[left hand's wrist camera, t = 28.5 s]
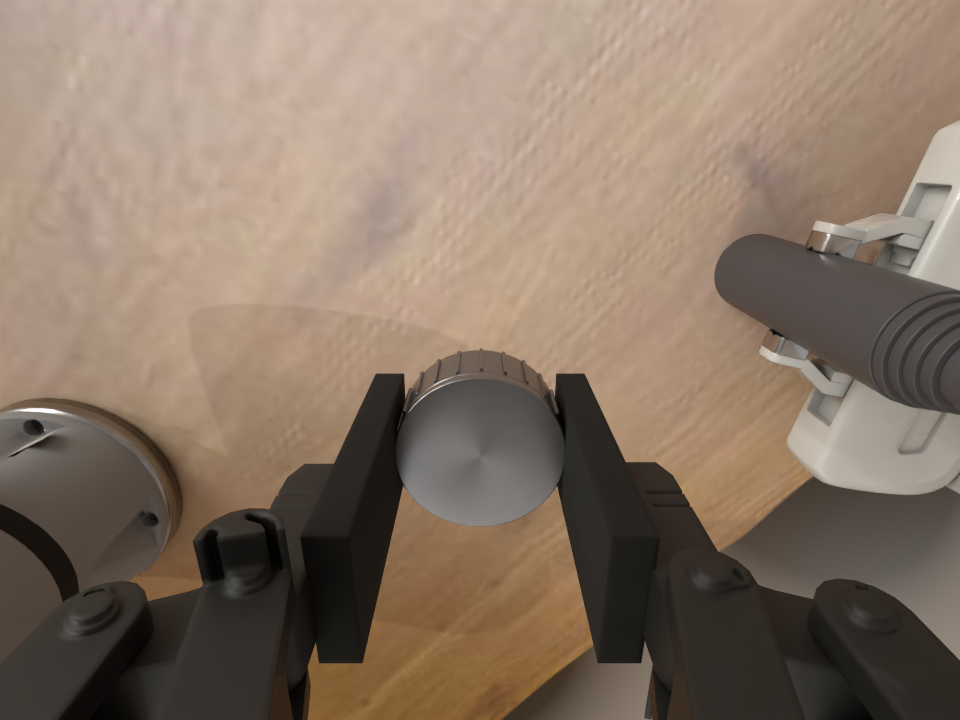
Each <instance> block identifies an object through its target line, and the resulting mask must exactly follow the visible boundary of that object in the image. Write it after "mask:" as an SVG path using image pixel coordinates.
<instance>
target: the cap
mask: <svg viewBox="0 0 960 720" xmlns="http://www.w3.org/2000/svg"><path fill="white" fill-rule="evenodd" d="M558 415H560V413H559V410H558V407H557V403H556V400H555V397H554V393H553V391H552V389H551V390H549V388H548V386H547V384H546V383H545V382H544V380H543V378H542V375H541V373H539V374H538V373H537V372H536V371H534V370H533V369H532V368H531V367H530V366H528V365H527V364H526V362H525V361H524V360H522V361H520V360H518V359H517V358H514V357H512V356H509V355H507V354H505V352H502V353H499V352H494V351H485V350H483V349H480V350H475V351H467V352H462V353H461V351H458V352H457V354H454V355H452V356H449V357H446V358H444V359H442V360H440V359H438V360H437V363H435V364H434V365H433V366H431V367H430V368H428V369H427V370H426V371H425V372H423V371H422V372H421V373H420V377H419V379H418V380H417V381H416V382H415V384H414V386H413V387H412V388H409V390H408V393H407V397H406V400H405V403H404V407H403V410H402V416H401V419H400V422H399V426H398V429H397V436H396V440H395V452H396V466H397V471H398V474H399V477H400V479H401V481H402V483H403V485H404V487H405V488H406V490H407V491H408V493H409V494H410V495H411V497H412V498H413V499H414V500H415V501H416V502H417V503H418V504H420V505H421V506H422V507H423V508H424V509H426V510H427V511H429V512H430V513H432V514H434V515H435V516H438V517H440V518H442V519H444V520H447V521H450V522H453V523H456V524H461V525H467V526H494V525H500V524H504V523H508V522H511V521H514V520H517V519H519V518H521V517H523V516H525V515H527V514H529V513H530V512H532V511H534V510H535V509H536V508H537V507H539V506H540V505H541V504H542V503H543V502H544V501H545V500H546V499H547V498H548V497H549V496H550V495H551V494H552V492H553V491H554V490H555V488H556V486H557V484H558V483H559V481H560V479H561V476H562V473H563V470H564V458H565V437H564V433H563V429H562V426H561V422H560V419H559V416H558Z"/></svg>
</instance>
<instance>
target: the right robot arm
mask: <svg viewBox="0 0 960 720" xmlns="http://www.w3.org/2000/svg"><path fill="white" fill-rule="evenodd" d="M815 230H816V231H815ZM875 240H877V241H881V242H882V244H881V247H880V249H879V251H878V253H877V255H876V257H875V259H874V261H873V263H872V265H874V266H877V267H880V268H884V269H887V270H891V271H894V272H898V273H901V274H905V275H908V276H912V277H915V278H919V279H922V280H926V281H929V282H933V283H936V284H940V285H943V286H947V287H950V288H954V289H957V290H960V120H959V121H957V122H954V123H952V124H950V125H948V126H946V127H944V128H942V129H940V130H939V131H938V132H937V133H936V134H935V136H934V137H933V139H932V141H931V143H930V145H929V147H928V149H927V151H926V153H925V156H924V158H923V160H922V162H921V164H920V166H919V168H918V170H917V172H916V174H915V176H914V178H913V180H912V182H911V185H910V187H909V189H908V191H907V193H906V195H905V197H904V199H903V201H902V203H901V205H900V207H899V209H898V211H897V213H896V215H893V214H886V213H878V214H875V215H872V216H869V217H866V218H863V219H860V220H857V221H854V222H851V223H848V224H845V226H842V225H837V224H832V223H827V222H822V221H817V220H816V222H815V225H814V227H813V229H812V232H811V234H810V236H809V239H808V241H807V243H806V246H805V248H808V249H812V250H815V251H818V252H822V253H826V254H835V255H839V256H842V257H846V258H849V259H853V258H854V256H855V254H856V252H857V250H858V248H859V246H860V244H864V243H868V242H872V241H875ZM759 354H761V355H762V356H763V357H765V358H766V359H768V360H769V361H772V362H774V363H777V364H781V365H786V366H791V367H792V368H793V370H794V371H795V372H796V373H797V374H798V375H799V376H800V377H801V378H802V379H803V380H805V381H806V382H808V383H809V384H811V385H812V386H813V387H812V389H811V391H810V393H809V395H808V397H807V399H806V401H805V403H804V405H803V408H802V410H801V412H800V414H799V416H798V418H797V420H796V422H795V424H794V426H793V428H792V430H791V432H790V434H789V436H788V439H787V446H788V447H789V449H790V451H791V452H792V454H793V455H794V457H795V458H796V459H797V461H798V462H799V463H800V464H801V465H802V466H803V467H804V468H805V469H806V470H807V471H808V472H810V473H811V474H812V475H813V476H814V477H816V478H817V479H819V480H820V481H822V482H824V483H827V484H829V485H833V486H837V487H842V488H848V489H854V490H860V491H868V492H877V493H886V494H899V495H917V494H924V493H929V492H932V491H935V490H938V489H940V488H942V487H944V486H946V487H948V488H950V489H952V490H953V491H955V492H957V493H959V494H960V415H956V414H951V413H943V412H938V411H933V410H925V409H920V408H912V407H908V406H905V405H903V404H901V403H897V402H894V401H892V400H889V399H888V398H886V397H884V396H882V395H881V394H879V393H877V392H876V391H874V390H872V389H871V388H869V387H867V386H866V385H864V384H862V383H861V382H859V381H857V380H856V379H854V378H852V377H851V376H849V375H847V374H846V373H844V372H842V371H841V370H839V369H837V368H836V367H834V366H832V365H831V364H829V363H827V362H826V361H824V360H821V359H816V358H814V359H812V360H811V362H810V361H809V360H808V359H807V357H808V354H809V351H808V350H806V349H804V348H803V347H801V346H799V345H798V344H796V343H794V342H793V341H791V340H789V339H788V338H786V337H784V336H783V335H781V334H779V333H778V332H776V331H774V330H773V329H769V331H768V333H767V335H766V337H765V339H764V342H763V344H762V346H761V349H760V351H759Z"/></svg>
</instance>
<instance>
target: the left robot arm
mask: <svg viewBox="0 0 960 720" xmlns="http://www.w3.org/2000/svg"><path fill="white" fill-rule="evenodd" d="M555 400H556V403H557V407H558V410H559V413H560V415H558V416H559V419H560V422H561V426H562V429H563V433H564V437H565V458H564V470H563V473H562V476H561V479H560V481H559V483H558V484H557V487H558V491H559V496H560V500H561V504H562V509H563V513H564V517H565V522H566V526H567V531H568V535H569V539H570V544H571V548H572V552H573V557H574V561H575V565H576V570H577V574H578V579H579V583H580V587H581V592H582V596H583V600H584V605H585V609H586V613H587V618H588V622H589V627H590V631H591V635H592V640H593V644H594V648H595V653H596V657H597V661H598V663H641V661H642V654H643V648H644V641H645V642H646V645H647V648H648V651H649V654H650V657H651V660H652V663H653V667H652V673H651V679H650V685H649V691H648V697H647V703H646V710H645V717H644V718H646V719H651V717H652V720H960V660H959V659H958V658H957V657H956V656H955V655H954V654H953V653H952V652H951V651H950V650H949V649H948V648H947V647H946V646H945V645H944V644H943V643H942V642H941V641H940V640H939V639H938V638H937V637H936V636H935V635H934V634H933V633H932V631H931V630H930V629H929V628H928V627H927V626H926V625H925V624H924V623H923V622H922V621H921V620H920V619H919V618H918V617H917V616H916V615H915V614H914V613H913V612H912V611H911V610H910V609H908V608H907V607H906V606H905V605H904V604H902V603H901V602H900V601H899V600H897V599H896V598H895V597H893V596H891V595H889V594H887V593H886V592H884V591H882V590H880V589H878V588H876V587H873V586H870V585H867V584H865V583H862V582H859V581H855V580H846V579H833V580H829V581H824V582H823V583H822V584H821V585H820V586H819V587H818V588H817V589H816V592H815V595H814V599H809V598H805V597H801V596H796V595H792V594H788V593H784V592H780V591H775V590H772V589H769V588H766V587H763V586H760V585H758V584H757V582H756V581H755V579H754V578H753V576H752V574H751V573H750V571H749V570H748V569H746V568H745V567H744V566H743V565H742V564H740V563H739V562H738V561H737V560H735V559H733V558H731V557H729V556H727V555H725V554H723V553H721V552H718V551H717V549H716V548H715V546H714V544H713V543H712V541H711V539H710V537H709V536H708V534H707V532H706V531H705V529H704V527H703V526H702V524H701V522H700V521H699V519H698V517H697V516H696V514H695V512H694V510H693V509H692V507H690V504H689V502H688V500H687V499H686V497H685V495H684V494H682V490H681V488H680V487H679V485H678V483H677V482H676V480H675V478H674V477H673V475H671V474H670V473H669V472H668V471H666V470H665V469H664V468H662V467H661V466H660V465H658V464H657V463H656V462H625V460H624V458H623V456H622V453H621V451H620V449H619V447H618V445H617V443H616V441H615V438H614V436H613V434H612V432H611V430H610V428H609V426H608V423H607V421H606V419H605V417H604V415H603V413H602V411H601V408H600V406H599V404H598V402H597V400H596V398H595V395H594V393H593V391H592V389H591V387H590V385H589V383H588V380H587V378H586V376H585V374H556V389H555ZM404 403H405V383H404V374H376V375H375V377H374V379H373V381H372V383H371V385H370V388H369V390H368V392H367V394H366V396H365V398H364V401H363V403H362V405H361V407H360V409H359V411H358V413H357V416H356V418H355V420H354V422H353V424H352V426H351V428H350V431H349V433H348V435H347V437H346V439H345V441H344V444H343V446H342V448H341V450H340V452H339V454H338V456H337V459H336V461H335V463H334V464H304V465H303V466H302V467H300V468H299V469H298V470H296V471H295V472H294V473H293V474H291V475H290V476H289V477H288V478H287V479H286V481H285V483H284V484H283V486H282V488H281V490H280V491H279V495H278V496H276V498H275V500H274V501H273V503H272V505H271V509H269V510H267V509H244V510H239V511H235V512H231V513H228V514H226V515H224V516H222V517H219V518H217V519H215V520H213V521H212V522H211V523H209V524H208V525H207V526H205V527H204V528H203V529H201V530H200V532H199V533H198V535H197V536H196V537H195V539H194V540H193V544H194V548H195V552H196V556H197V561H198V565H199V569H200V573H201V577H202V581H203V586H202V587H201V588H198V589H195V590H192V591H189V592H185V593H181V594H177V595H173V596H169V597H164V598H160V599H156V600H152V601H148V600H147V597H146V594H145V591H144V590H143V589H142V588H141V587H140V586H139V585H138V584H137V583H132V582H128V581H130V580H131V579H133V578H134V577H136V576H138V575H139V574H141V573H142V572H144V571H145V570H146V569H148V568H149V567H150V566H151V565H152V564H153V563H154V562H155V560H156V559H157V558H158V557H159V555H160V554H161V553H162V552H163V550H164V549H165V548H166V547H167V545H168V544H169V543H170V541H171V540H172V538H173V537H174V535H175V533H176V531H177V528H178V525H179V522H180V517H181V497H180V491H179V488H178V484H177V481H176V479H175V476H174V474H173V472H172V470H171V468H170V466H169V465H168V463H167V462H166V460H165V459H164V457H163V456H162V455H161V453H160V452H159V451H158V449H157V448H156V447H155V446H154V445H153V444H152V443H151V442H150V441H149V440H148V439H147V438H146V437H145V436H144V435H143V434H141V433H140V432H139V431H137V430H136V429H135V428H134V427H132V426H131V425H129V424H128V423H126V422H125V421H123V420H121V419H120V418H118V417H116V416H114V415H112V414H110V413H108V412H106V411H104V410H101V409H99V408H96V407H93V406H90V405H87V404H84V403H80V402H75V401H71V400H64V399H52V398H43V399H32V400H25V401H21V402H17V403H14V404H11V405H9V406H7V407H4V408H2V409H0V720H308V710H309V699H310V688H311V686H310V679H309V673H308V664H309V661H310V658H311V655H312V652H313V649H314V646H315V643H316V646H317V652H318V659H319V663H363V659H364V654H365V650H366V646H367V641H368V637H369V632H370V628H371V624H372V619H373V615H374V611H375V606H376V602H377V597H378V593H379V589H380V584H381V580H382V576H383V571H384V567H385V563H386V558H387V554H388V549H389V545H390V541H391V536H392V532H393V528H394V523H395V519H396V514H397V510H398V506H399V501H400V497H401V493H402V488H403V483H402V481H401V479H400V477H399V474H398V471H397V466H396V452H395V440H396V436H397V429H398V426H399V422H400V419H401V416H402V410H403V407H404Z"/></svg>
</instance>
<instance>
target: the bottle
mask: <svg viewBox="0 0 960 720" xmlns="http://www.w3.org/2000/svg"><path fill="white" fill-rule="evenodd" d="M715 285H716V288H717V291H718V293H719V294H720V296H721V297H722V298H723V299H724V300H725V301H727V302H728V303H729V304H731V305H733V306H734V307H736V308H738V309H739V310H741V311H743V312H744V313H746V314H748V315H749V316H751V317H753V318H754V319H756V320H758V321H759V322H761V323H763V324H764V325H766V326H768V327H769V328H771V329H773V330H774V331H776V332H778V333H779V334H781V335H783V336H784V337H786V338H788V339H789V340H791V341H793V342H794V343H796V344H798V345H799V346H801V347H803V348H804V349H806V350H808V351H809V352H811V353H813V354H814V355H816V356H818V357H819V358H821V359H822V360H824V361H826V362H827V363H829V364H831V365H832V366H834V367H836V368H837V369H839V370H841V371H842V372H844V373H846V374H847V375H849V376H851V377H852V378H854V379H856V380H857V381H859V382H861V383H862V384H864V385H866V386H867V387H869V388H871V389H872V390H874V391H876V392H877V393H879V394H881V395H882V396H884V397H886V398H888V399H889V400H892V401H894V402H897V403H901V404H903V405H905V406H908V407H912V408H920V409H925V410H933V411H938V412H943V413H951V414H956V415H960V290H957V289H954V288H950V287H947V286H943V285H940V284H936V283H933V282H929V281H926V280H922V279H919V278H915V277H912V276H908V275H905V274H901V273H898V272H894V271H891V270H887V269H884V268H880V267H877V266H874V265H870V264H867V263H863V262H860V261H856V260H853V259H849V258H846V257H842V256H839V255H835V254H826V253H822V252H818V251H815V250H812V249H808V248H805V246H804V245H801V244H797V243H794V242H790V241H787V240H783V239H780V238H776V237H773V236H769V235H765V234H753V235H749V236H745V237H743V238H741V239H739V240H737V241H735V242H734V243H733V244H731V245H730V246H729V247H728V248H727V249H726V250H725V251H724V253H723V254H722V255H721V257H720V259H719V261H718V263H717V266H716V270H715Z"/></svg>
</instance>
